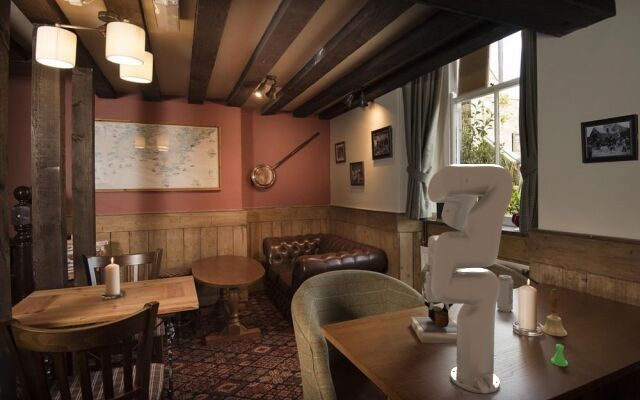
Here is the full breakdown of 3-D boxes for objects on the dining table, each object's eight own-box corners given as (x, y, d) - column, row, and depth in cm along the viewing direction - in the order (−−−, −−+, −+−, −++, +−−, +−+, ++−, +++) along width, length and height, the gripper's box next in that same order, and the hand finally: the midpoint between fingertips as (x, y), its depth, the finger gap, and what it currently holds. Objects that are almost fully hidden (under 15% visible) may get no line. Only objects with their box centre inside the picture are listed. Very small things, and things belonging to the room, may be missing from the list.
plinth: (468, 342, 124) (468, 333, 124) (422, 342, 124) (422, 333, 124) (451, 324, 140) (452, 316, 140) (410, 324, 140) (410, 316, 140)
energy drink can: (499, 307, 159) (500, 273, 158) (514, 310, 155) (515, 276, 154) (494, 310, 155) (495, 276, 154) (510, 314, 151) (510, 278, 150)
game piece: (549, 363, 110) (549, 343, 110) (552, 358, 113) (553, 339, 113) (565, 368, 107) (566, 348, 107) (569, 363, 110) (569, 343, 110)
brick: (449, 327, 126) (449, 314, 126) (438, 327, 126) (438, 314, 126) (438, 316, 137) (438, 304, 137) (428, 316, 137) (428, 304, 137)
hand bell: (538, 332, 133) (539, 289, 132) (543, 325, 139) (544, 284, 138) (565, 338, 127) (566, 294, 126) (569, 331, 133) (570, 288, 132)
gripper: (418, 272, 127) (417, 323, 128) (465, 272, 127) (465, 323, 128) (413, 267, 135) (412, 315, 136) (457, 267, 135) (457, 315, 135)
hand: (438, 318), depth 132 cm, fingers closed on brick, 4 cm apart
